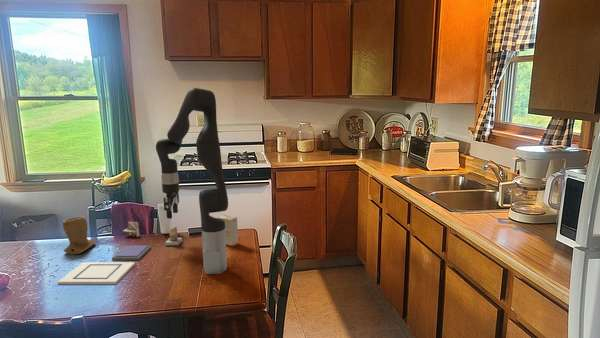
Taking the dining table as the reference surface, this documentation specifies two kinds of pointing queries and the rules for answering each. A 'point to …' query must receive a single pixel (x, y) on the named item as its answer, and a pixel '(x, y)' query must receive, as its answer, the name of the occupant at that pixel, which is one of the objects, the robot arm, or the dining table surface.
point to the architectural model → (132, 229)
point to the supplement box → (230, 229)
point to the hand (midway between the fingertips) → (172, 215)
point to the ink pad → (131, 253)
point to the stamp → (173, 238)
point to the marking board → (97, 273)
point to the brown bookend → (77, 235)
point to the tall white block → (164, 219)
